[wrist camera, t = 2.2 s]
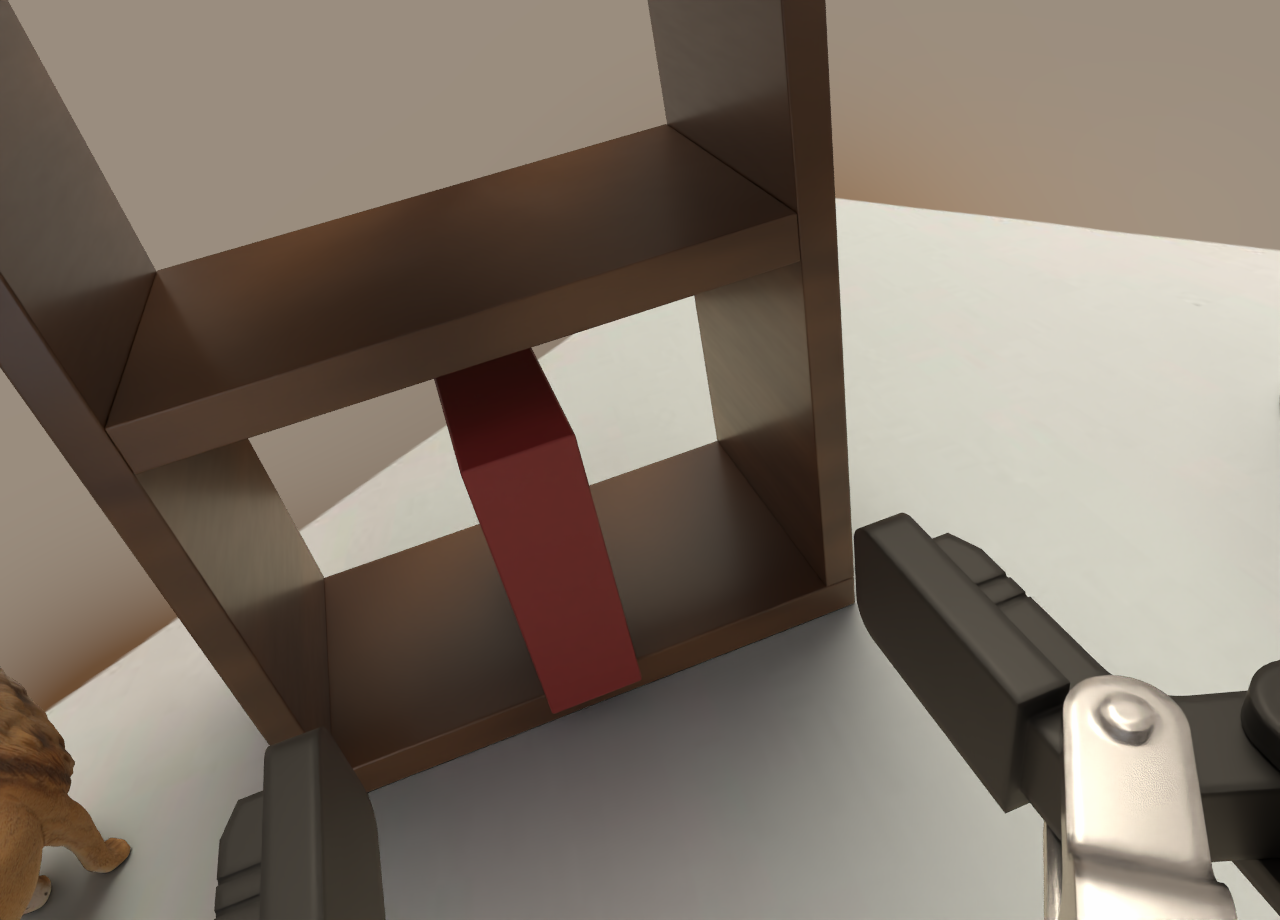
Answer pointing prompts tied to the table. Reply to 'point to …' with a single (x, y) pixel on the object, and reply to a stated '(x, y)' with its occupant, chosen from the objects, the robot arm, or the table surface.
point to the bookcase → (442, 344)
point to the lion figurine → (39, 805)
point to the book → (540, 525)
